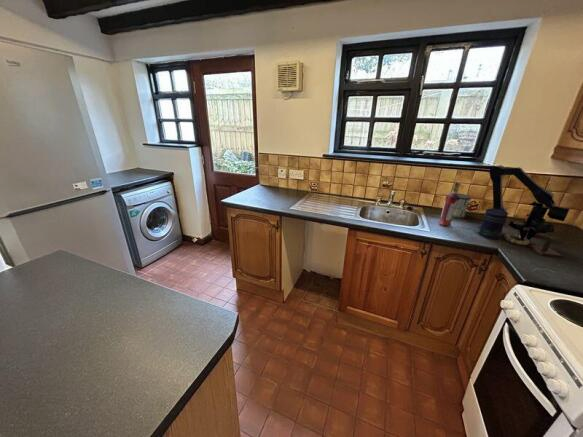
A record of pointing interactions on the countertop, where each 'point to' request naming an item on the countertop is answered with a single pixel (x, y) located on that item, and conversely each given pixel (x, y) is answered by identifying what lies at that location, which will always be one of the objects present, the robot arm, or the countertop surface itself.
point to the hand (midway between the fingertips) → (524, 240)
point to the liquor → (450, 206)
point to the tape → (510, 238)
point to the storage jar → (493, 223)
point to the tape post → (545, 249)
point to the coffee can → (462, 205)
